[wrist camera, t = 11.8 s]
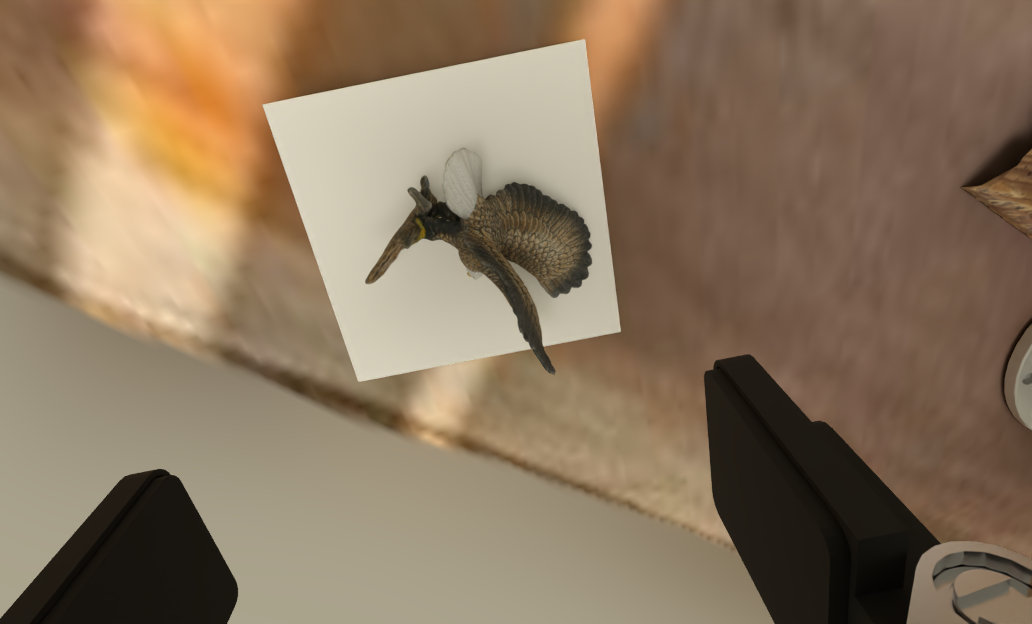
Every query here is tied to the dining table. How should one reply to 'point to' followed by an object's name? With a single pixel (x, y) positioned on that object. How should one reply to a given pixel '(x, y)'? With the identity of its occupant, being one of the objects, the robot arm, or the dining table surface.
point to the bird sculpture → (1010, 195)
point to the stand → (424, 151)
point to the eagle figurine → (499, 238)
